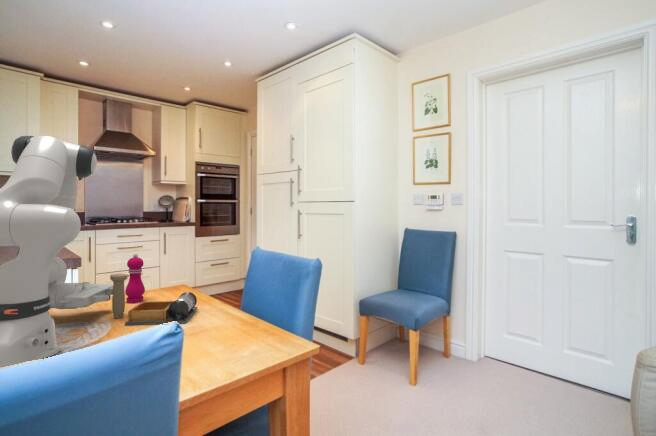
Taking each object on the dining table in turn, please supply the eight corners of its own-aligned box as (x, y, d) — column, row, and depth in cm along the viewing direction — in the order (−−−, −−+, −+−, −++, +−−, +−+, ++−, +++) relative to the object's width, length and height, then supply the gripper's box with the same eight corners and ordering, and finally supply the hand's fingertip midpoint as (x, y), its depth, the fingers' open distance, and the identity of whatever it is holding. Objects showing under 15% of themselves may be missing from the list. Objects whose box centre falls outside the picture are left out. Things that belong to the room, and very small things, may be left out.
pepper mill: (138, 303, 142) (139, 254, 141) (121, 303, 142) (121, 254, 142) (148, 299, 149) (148, 252, 149) (131, 299, 149) (132, 252, 149)
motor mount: (186, 323, 117) (186, 302, 117) (124, 325, 114) (124, 303, 114) (198, 309, 135) (198, 290, 135) (144, 310, 132) (145, 291, 132)
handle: (115, 320, 119) (116, 277, 119) (106, 317, 123) (107, 274, 123) (130, 317, 123) (130, 275, 123) (121, 314, 127) (121, 273, 127)
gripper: (53, 293, 110) (101, 292, 113) (87, 281, 131) (127, 280, 133) (53, 313, 110) (101, 311, 113) (87, 298, 131) (127, 297, 133)
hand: (115, 294), depth 123 cm, fingers open, 8 cm apart
